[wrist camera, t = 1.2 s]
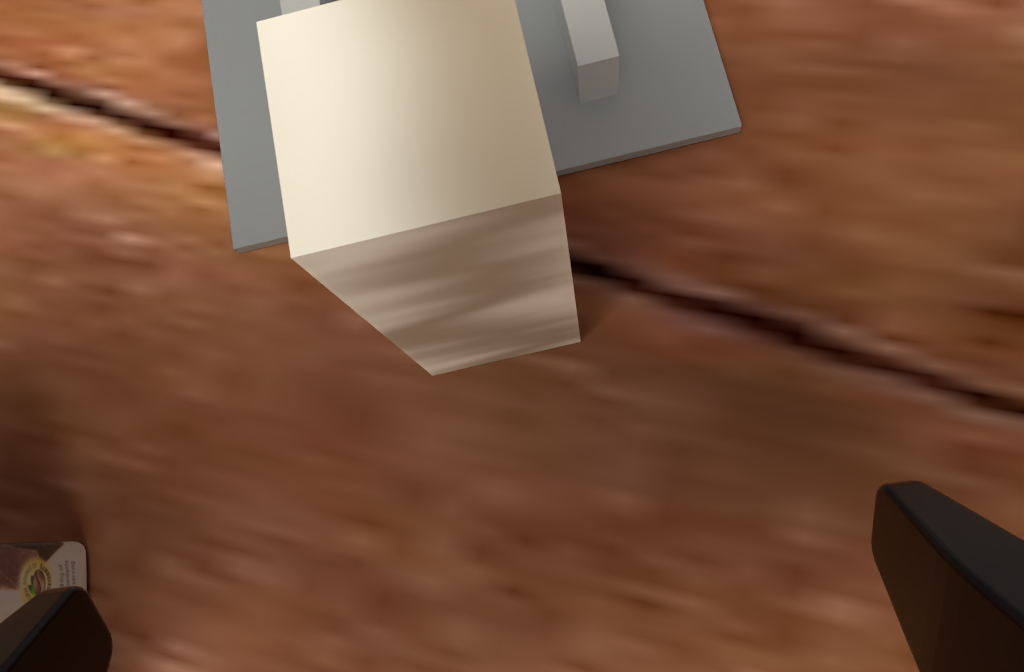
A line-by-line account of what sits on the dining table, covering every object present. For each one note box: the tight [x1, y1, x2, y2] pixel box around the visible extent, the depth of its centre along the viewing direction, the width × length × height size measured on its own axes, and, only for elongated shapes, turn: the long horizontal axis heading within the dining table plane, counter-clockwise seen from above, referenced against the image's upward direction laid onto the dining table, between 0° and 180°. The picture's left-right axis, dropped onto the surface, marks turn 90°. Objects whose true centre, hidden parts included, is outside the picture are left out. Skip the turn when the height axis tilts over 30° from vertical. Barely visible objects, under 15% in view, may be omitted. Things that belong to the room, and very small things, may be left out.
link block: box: [256, 0, 581, 376], centre depth 19 cm, size 4×5×11 cm
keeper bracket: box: [202, 0, 742, 253], centre depth 24 cm, size 16×10×4 cm, turn 102°
